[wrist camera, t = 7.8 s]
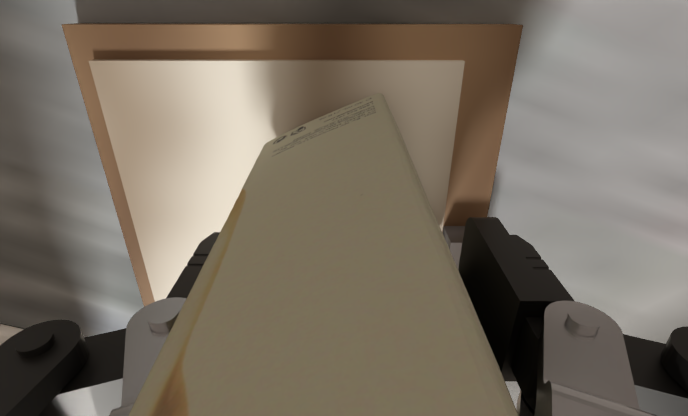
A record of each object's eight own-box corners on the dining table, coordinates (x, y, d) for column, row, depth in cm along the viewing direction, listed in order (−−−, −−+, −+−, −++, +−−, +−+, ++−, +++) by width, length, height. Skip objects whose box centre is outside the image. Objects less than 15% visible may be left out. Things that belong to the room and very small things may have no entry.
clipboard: (512, 24, 13) (540, 27, 11) (442, 424, 22) (450, 461, 20) (77, 23, 13) (34, 26, 11) (187, 423, 22) (173, 460, 20)
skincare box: (260, 141, 13) (-180, 836, 2) (383, 86, 12) (684, 766, 1) (340, 285, 16) (326, 922, 5) (447, 248, 15) (719, 917, 4)
